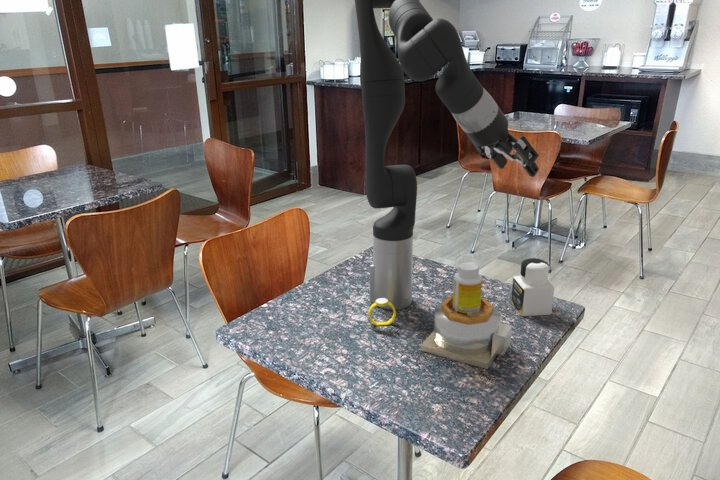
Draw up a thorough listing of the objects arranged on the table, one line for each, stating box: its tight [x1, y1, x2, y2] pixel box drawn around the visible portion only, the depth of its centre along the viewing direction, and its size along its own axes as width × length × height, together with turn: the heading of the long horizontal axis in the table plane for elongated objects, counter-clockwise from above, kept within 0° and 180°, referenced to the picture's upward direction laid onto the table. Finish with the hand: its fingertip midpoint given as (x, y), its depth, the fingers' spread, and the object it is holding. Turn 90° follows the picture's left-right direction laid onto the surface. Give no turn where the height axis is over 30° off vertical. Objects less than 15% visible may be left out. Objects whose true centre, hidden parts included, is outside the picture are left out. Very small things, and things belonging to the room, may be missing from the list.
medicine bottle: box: [510, 257, 555, 317], centre depth 126 cm, size 7×7×12 cm
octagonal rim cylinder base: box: [420, 296, 513, 370], centre depth 113 cm, size 16×14×9 cm
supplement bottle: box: [452, 262, 483, 316], centre depth 110 cm, size 6×6×10 cm
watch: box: [367, 298, 397, 327], centre depth 122 cm, size 6×3×6 cm, turn 95°
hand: (518, 169), depth 111 cm, fingers open, 8 cm apart
